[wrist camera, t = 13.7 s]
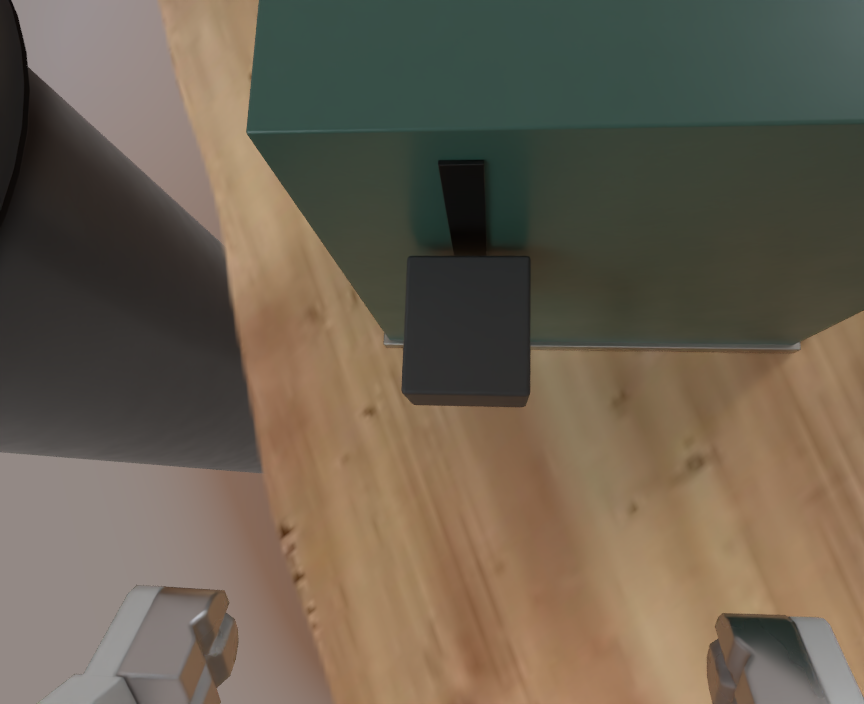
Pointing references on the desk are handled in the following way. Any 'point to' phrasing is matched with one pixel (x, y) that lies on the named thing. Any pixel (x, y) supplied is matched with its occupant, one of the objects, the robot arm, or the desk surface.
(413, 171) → the toaster
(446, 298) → the handle
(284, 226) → the desk surface
